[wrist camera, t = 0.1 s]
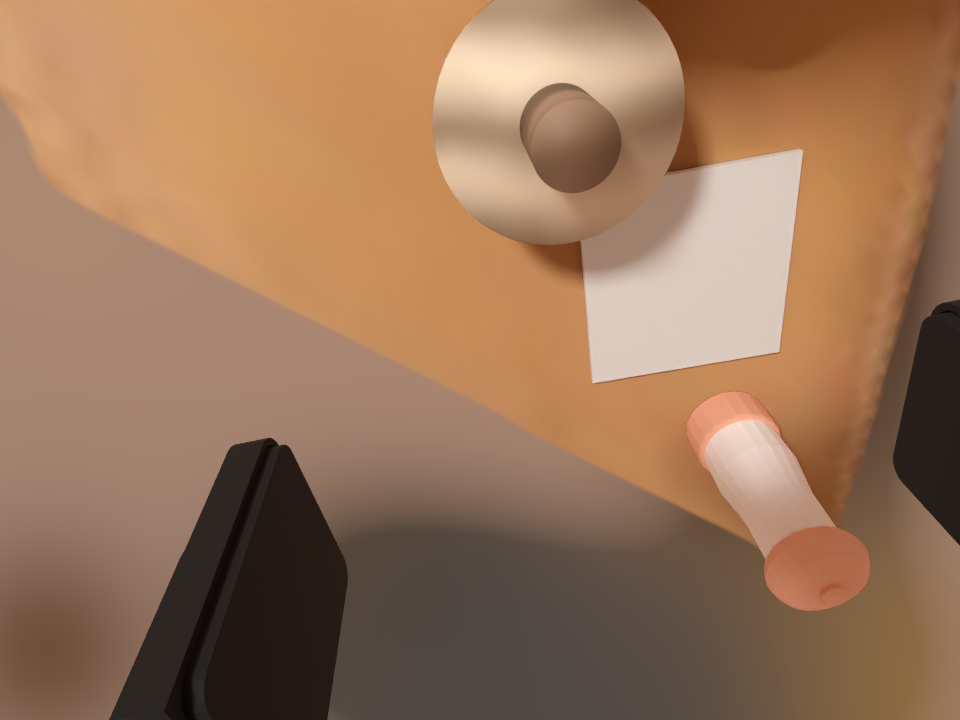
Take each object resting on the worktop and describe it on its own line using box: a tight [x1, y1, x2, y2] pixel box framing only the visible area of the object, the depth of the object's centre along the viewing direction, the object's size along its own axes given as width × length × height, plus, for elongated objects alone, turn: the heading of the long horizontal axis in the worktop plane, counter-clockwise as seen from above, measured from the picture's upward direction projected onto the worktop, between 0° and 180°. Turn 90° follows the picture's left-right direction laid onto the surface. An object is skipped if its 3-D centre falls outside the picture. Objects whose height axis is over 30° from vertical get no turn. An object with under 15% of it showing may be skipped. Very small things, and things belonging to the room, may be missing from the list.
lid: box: [433, 0, 685, 245], centre depth 32 cm, size 14×14×6 cm
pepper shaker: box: [686, 391, 870, 611], centre depth 49 cm, size 7×7×19 cm
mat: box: [580, 149, 803, 383], centre depth 48 cm, size 17×16×1 cm
